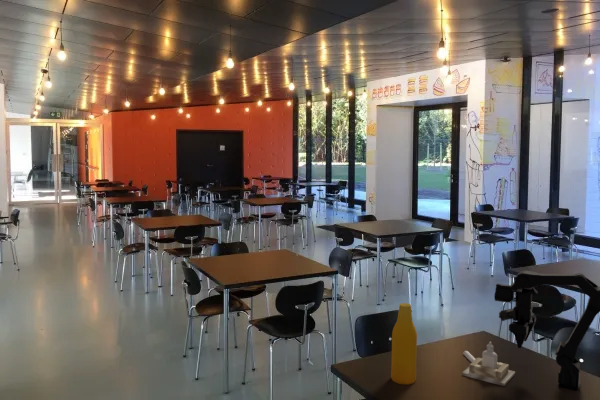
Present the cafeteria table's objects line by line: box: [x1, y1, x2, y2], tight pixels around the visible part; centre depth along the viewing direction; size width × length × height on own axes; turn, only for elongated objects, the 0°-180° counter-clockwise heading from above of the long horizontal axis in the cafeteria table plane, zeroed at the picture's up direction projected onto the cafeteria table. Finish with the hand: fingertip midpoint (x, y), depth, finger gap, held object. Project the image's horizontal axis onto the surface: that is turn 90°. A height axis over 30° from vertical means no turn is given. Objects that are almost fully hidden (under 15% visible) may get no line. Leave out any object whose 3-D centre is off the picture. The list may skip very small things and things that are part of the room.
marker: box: [462, 350, 476, 364], centre depth 222 cm, size 3×2×16 cm
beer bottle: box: [390, 302, 418, 386], centre depth 200 cm, size 9×9×29 cm
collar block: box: [461, 357, 516, 387], centre depth 206 cm, size 16×14×4 cm
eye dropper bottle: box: [481, 341, 498, 369], centre depth 206 cm, size 4×6×12 cm
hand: (522, 344), depth 203 cm, fingers open, 9 cm apart
